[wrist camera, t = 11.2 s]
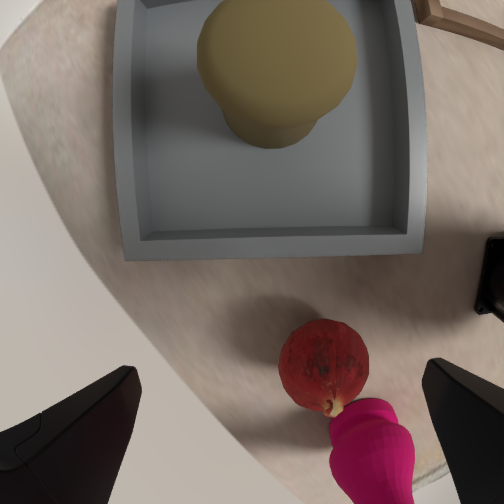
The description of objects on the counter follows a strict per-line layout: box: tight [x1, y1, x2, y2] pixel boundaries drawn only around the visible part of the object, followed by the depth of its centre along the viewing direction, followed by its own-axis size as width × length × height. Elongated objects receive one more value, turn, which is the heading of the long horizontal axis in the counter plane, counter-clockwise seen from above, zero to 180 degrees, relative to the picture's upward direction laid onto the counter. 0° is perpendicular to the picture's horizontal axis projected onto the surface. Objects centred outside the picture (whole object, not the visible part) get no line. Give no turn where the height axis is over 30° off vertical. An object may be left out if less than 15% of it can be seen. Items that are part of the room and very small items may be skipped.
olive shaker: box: [197, 0, 358, 149], centre depth 13 cm, size 6×6×11 cm
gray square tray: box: [112, 0, 427, 261], centre depth 17 cm, size 18×18×3 cm
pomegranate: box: [278, 319, 369, 417], centre depth 19 cm, size 6×6×8 cm
